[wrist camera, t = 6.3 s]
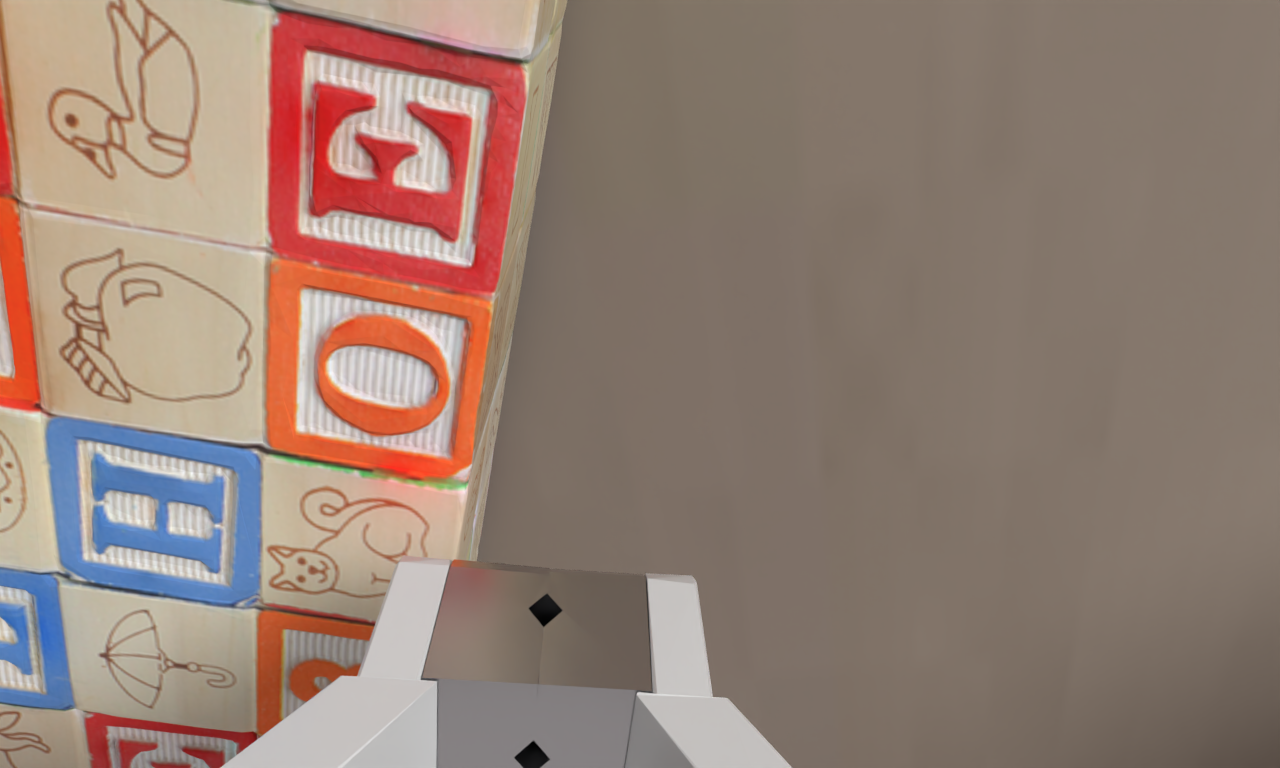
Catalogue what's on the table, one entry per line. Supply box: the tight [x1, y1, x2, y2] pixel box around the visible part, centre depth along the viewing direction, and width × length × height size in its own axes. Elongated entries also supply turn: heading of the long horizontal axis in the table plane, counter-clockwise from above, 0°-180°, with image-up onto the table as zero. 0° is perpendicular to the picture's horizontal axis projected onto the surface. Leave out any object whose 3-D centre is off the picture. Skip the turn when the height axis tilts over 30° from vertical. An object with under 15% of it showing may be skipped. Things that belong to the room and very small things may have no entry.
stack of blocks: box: [0, 0, 567, 768], centre depth 14 cm, size 21×6×12 cm
